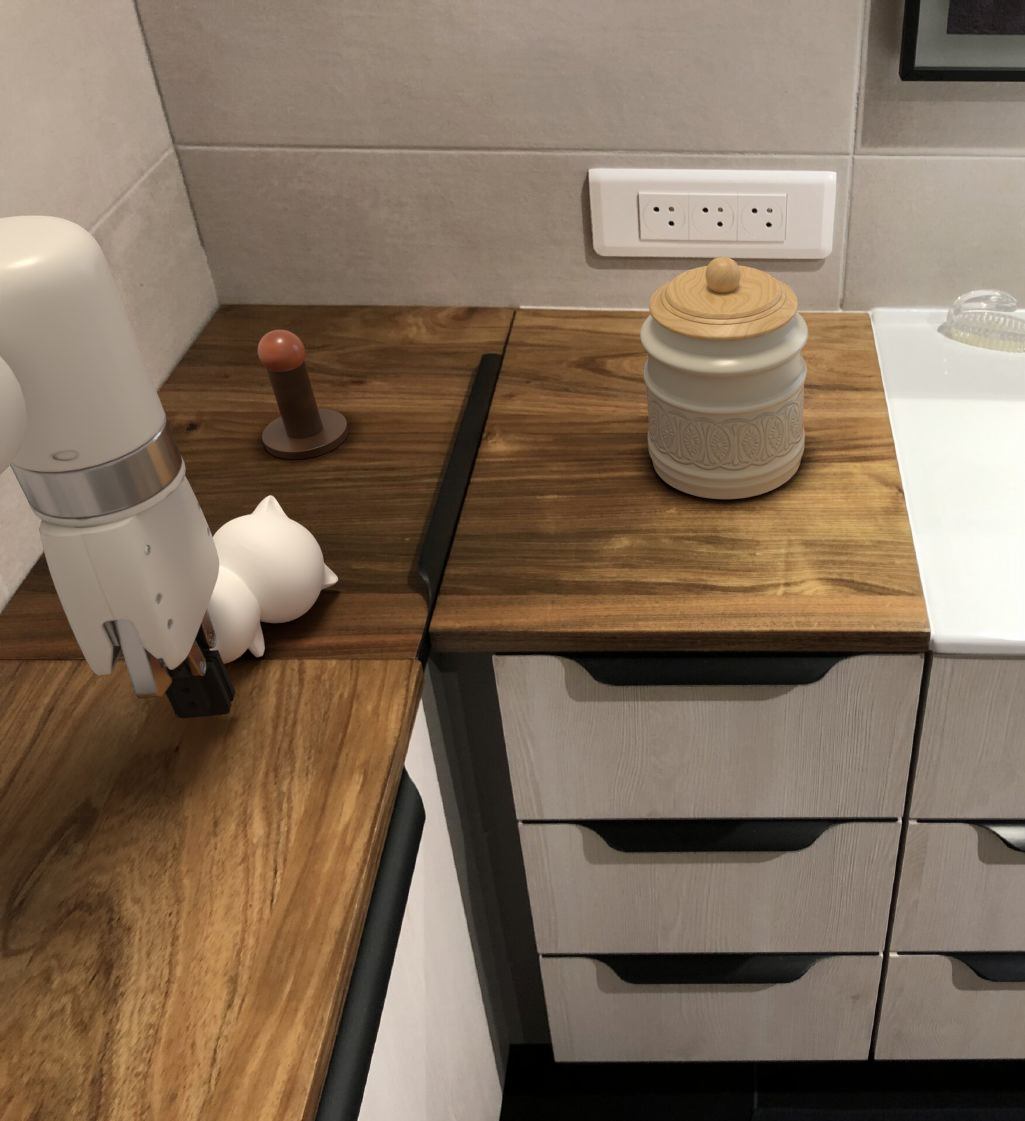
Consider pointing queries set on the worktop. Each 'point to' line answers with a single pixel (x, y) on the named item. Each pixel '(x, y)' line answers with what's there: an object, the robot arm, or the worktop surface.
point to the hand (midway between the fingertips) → (207, 706)
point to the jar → (725, 381)
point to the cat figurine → (263, 577)
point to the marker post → (296, 403)
